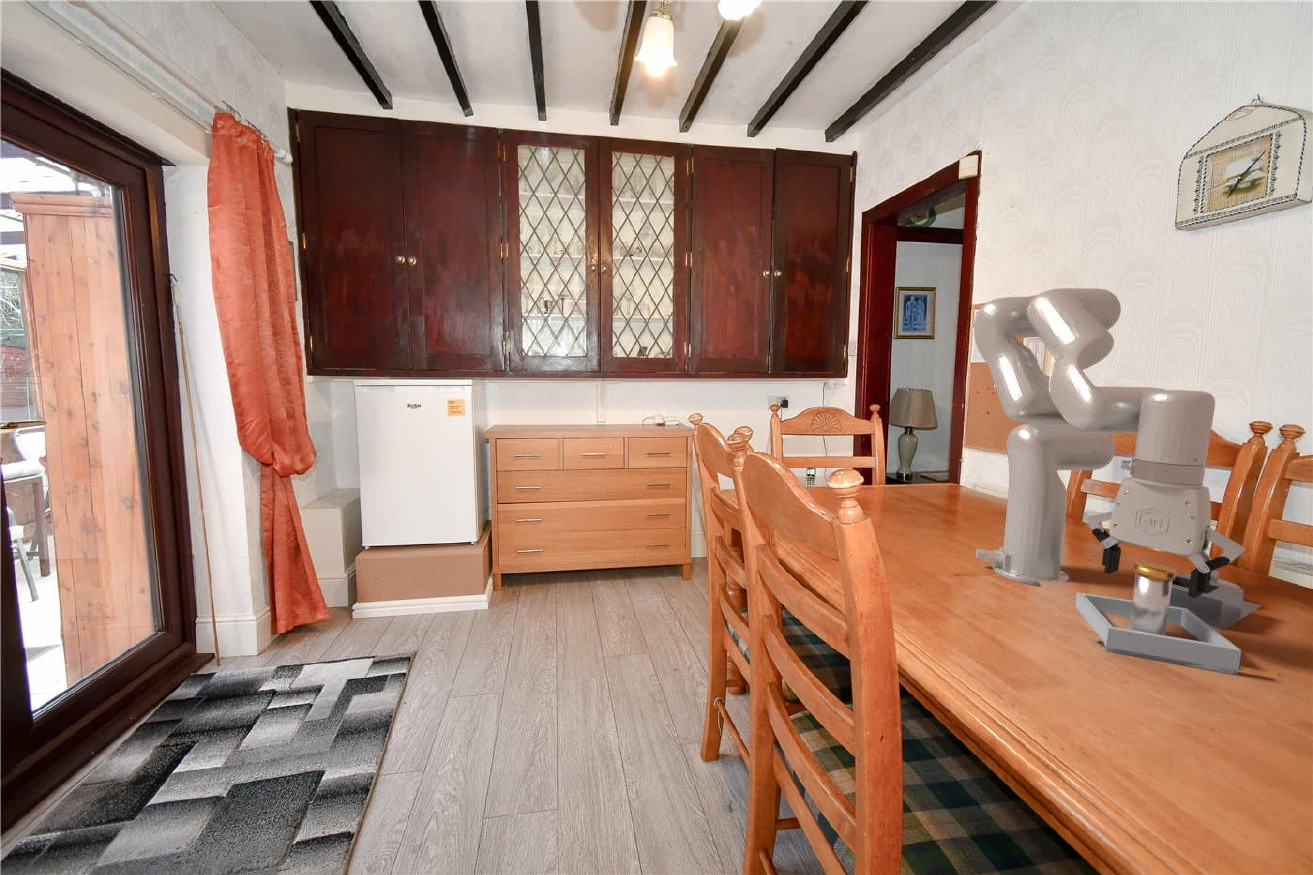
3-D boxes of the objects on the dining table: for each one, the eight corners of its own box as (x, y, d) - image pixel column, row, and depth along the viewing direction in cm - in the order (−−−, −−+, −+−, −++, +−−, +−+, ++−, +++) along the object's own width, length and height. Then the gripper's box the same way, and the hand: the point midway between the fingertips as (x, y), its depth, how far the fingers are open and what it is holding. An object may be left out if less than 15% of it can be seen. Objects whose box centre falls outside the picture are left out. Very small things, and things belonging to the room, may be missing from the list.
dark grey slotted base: (1222, 636, 79) (1227, 599, 78) (1131, 607, 88) (1135, 575, 88) (1261, 611, 88) (1266, 578, 87) (1174, 587, 97) (1178, 558, 97)
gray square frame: (1105, 650, 74) (1108, 628, 74) (1074, 611, 87) (1076, 592, 86) (1237, 675, 68) (1241, 650, 68) (1183, 629, 81) (1186, 608, 81)
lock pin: (1133, 639, 76) (1141, 569, 75) (1121, 626, 81) (1128, 559, 79) (1174, 646, 75) (1183, 574, 73) (1159, 632, 79) (1167, 564, 77)
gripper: (1083, 465, 81) (1071, 567, 83) (1245, 488, 65) (1224, 612, 68) (1105, 462, 84) (1093, 560, 86) (1263, 482, 69) (1243, 601, 71)
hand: (1150, 583), depth 77 cm, fingers open, 9 cm apart
